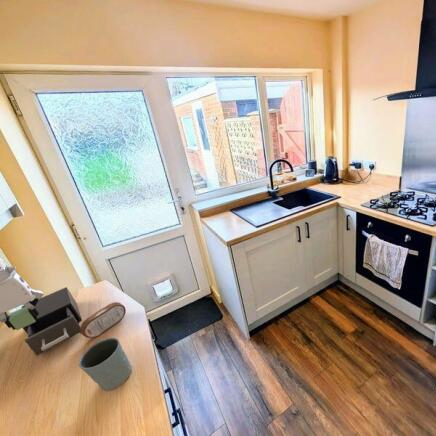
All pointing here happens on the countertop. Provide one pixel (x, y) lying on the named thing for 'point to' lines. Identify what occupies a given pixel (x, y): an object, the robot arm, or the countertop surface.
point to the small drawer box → (55, 304)
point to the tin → (102, 320)
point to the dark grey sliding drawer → (52, 330)
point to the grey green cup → (106, 364)
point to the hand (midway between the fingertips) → (26, 321)
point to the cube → (21, 318)
